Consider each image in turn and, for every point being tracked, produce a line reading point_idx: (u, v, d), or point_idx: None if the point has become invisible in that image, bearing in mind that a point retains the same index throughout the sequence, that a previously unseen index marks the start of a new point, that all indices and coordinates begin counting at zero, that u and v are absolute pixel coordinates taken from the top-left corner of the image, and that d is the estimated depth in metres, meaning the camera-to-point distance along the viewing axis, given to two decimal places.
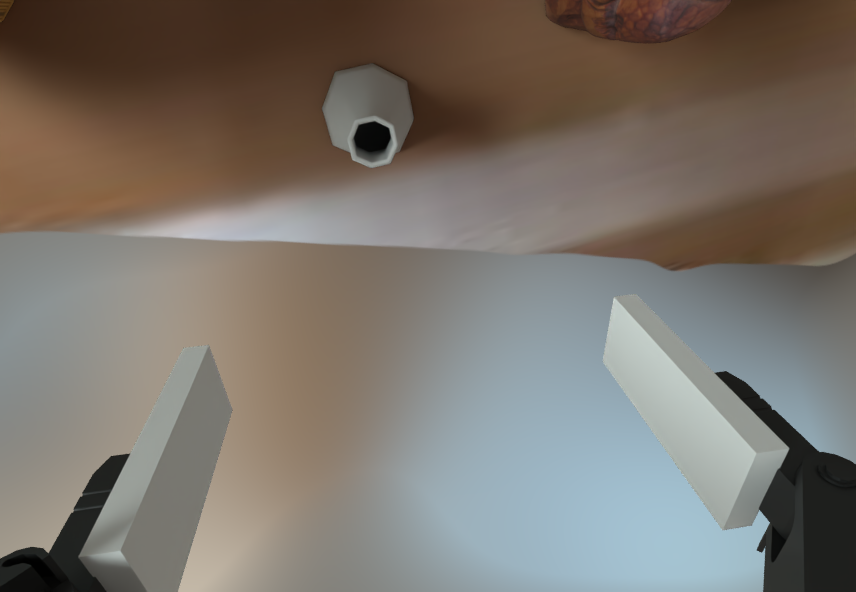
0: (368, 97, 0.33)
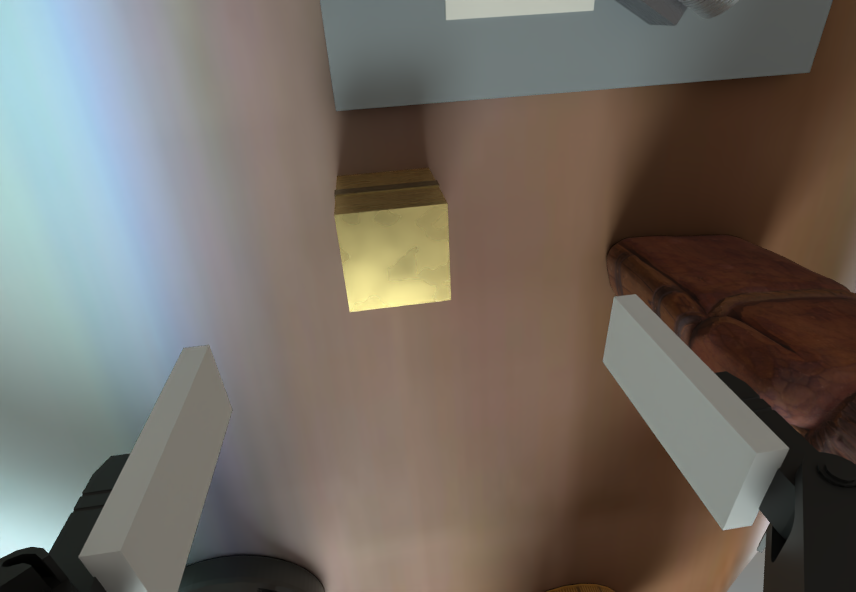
0: None
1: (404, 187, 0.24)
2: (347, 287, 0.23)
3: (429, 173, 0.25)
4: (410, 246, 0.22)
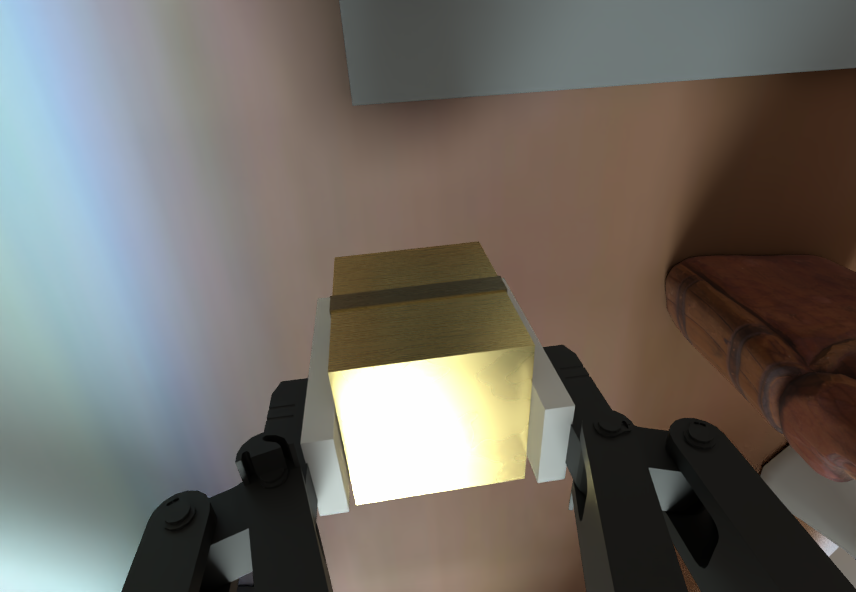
0: (831, 527, 0.33)
1: (448, 291, 0.14)
2: (352, 473, 0.13)
3: (483, 256, 0.16)
4: (463, 410, 0.12)
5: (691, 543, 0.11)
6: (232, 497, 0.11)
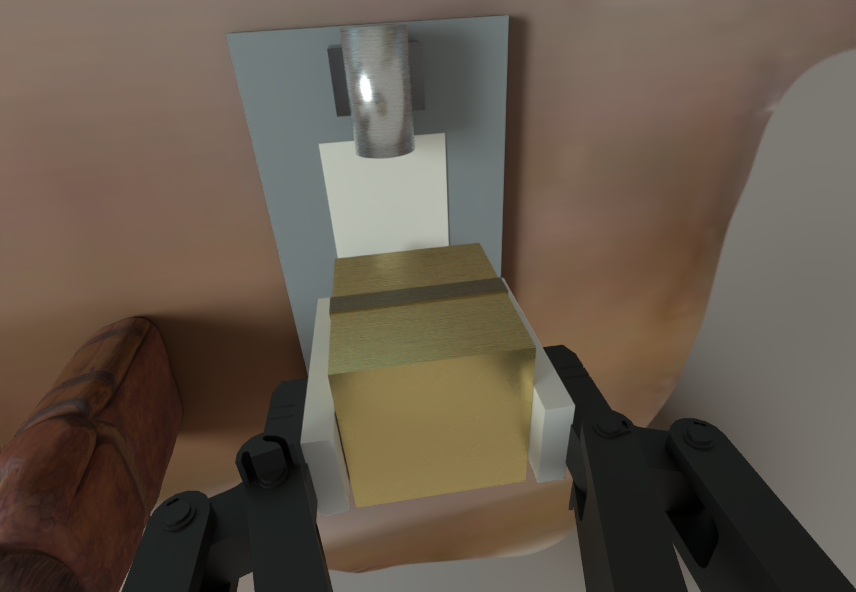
0: None
1: (449, 292, 0.14)
2: (352, 476, 0.13)
3: (484, 257, 0.16)
4: (463, 413, 0.12)
5: (691, 543, 0.11)
6: (232, 497, 0.11)
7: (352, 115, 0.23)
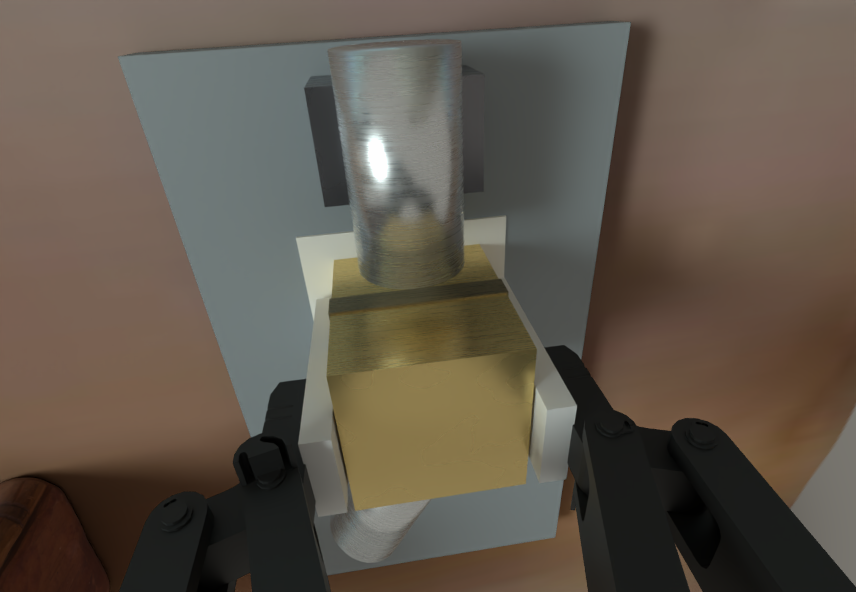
0: None
1: (449, 294, 0.14)
2: (351, 479, 0.13)
3: (484, 259, 0.16)
4: (464, 415, 0.12)
5: (693, 543, 0.11)
6: (230, 498, 0.11)
7: (353, 210, 0.12)
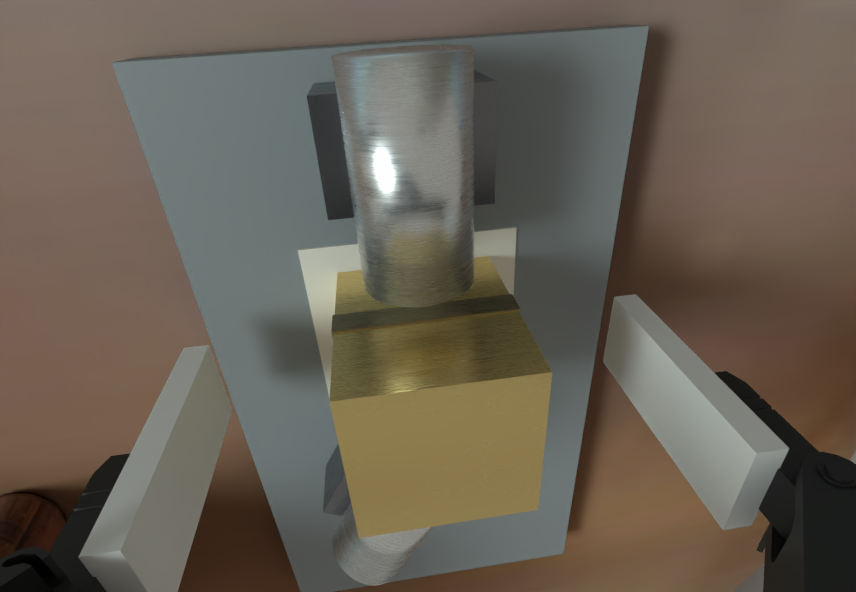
0: None
1: (457, 310, 0.13)
2: (354, 506, 0.12)
3: (494, 272, 0.15)
4: (474, 440, 0.12)
5: None
6: None
7: (357, 224, 0.12)
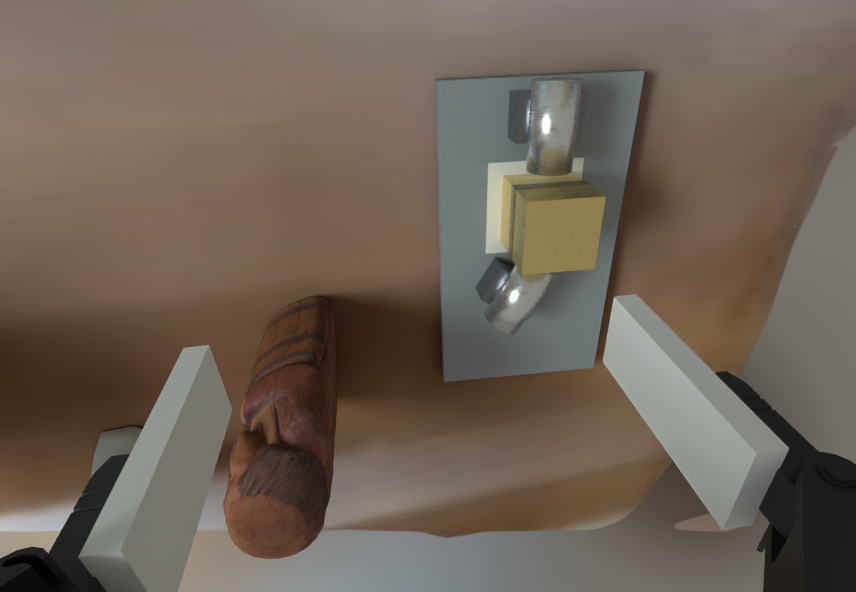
0: None
1: (563, 184, 0.32)
2: (524, 256, 0.31)
3: (575, 175, 0.34)
4: (574, 226, 0.30)
5: None
6: None
7: (532, 143, 0.30)
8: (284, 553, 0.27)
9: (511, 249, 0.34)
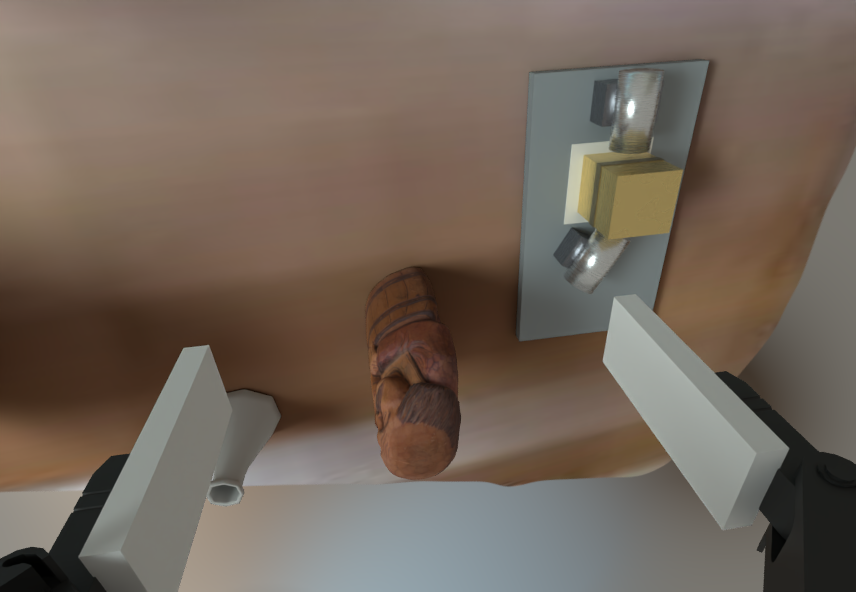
0: (232, 437, 0.45)
1: (641, 161, 0.37)
2: (611, 223, 0.36)
3: (647, 153, 0.39)
4: (655, 196, 0.36)
5: None
6: None
7: (617, 126, 0.36)
8: (431, 472, 0.32)
9: (594, 218, 0.39)
